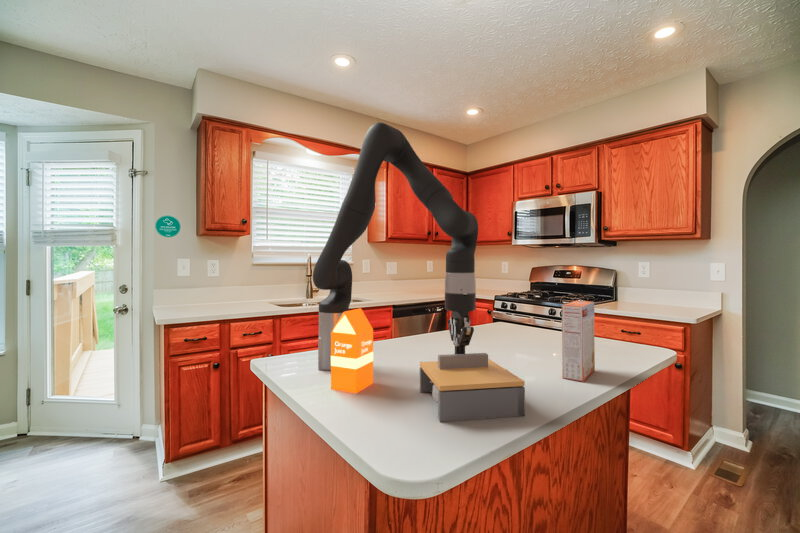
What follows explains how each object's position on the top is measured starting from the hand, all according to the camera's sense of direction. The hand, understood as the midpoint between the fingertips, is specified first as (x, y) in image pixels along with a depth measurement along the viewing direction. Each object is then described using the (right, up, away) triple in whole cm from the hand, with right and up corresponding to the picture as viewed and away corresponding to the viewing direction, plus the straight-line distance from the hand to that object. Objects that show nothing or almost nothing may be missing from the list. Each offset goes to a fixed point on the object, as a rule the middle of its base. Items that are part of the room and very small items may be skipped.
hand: (459, 360), depth 91 cm
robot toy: (0, -9, -7) cm, 11 cm away
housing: (0, -8, -6) cm, 10 cm away
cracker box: (+37, -8, +16) cm, 41 cm away
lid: (+1, -2, -6) cm, 6 cm away
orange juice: (-27, -8, +6) cm, 29 cm away
